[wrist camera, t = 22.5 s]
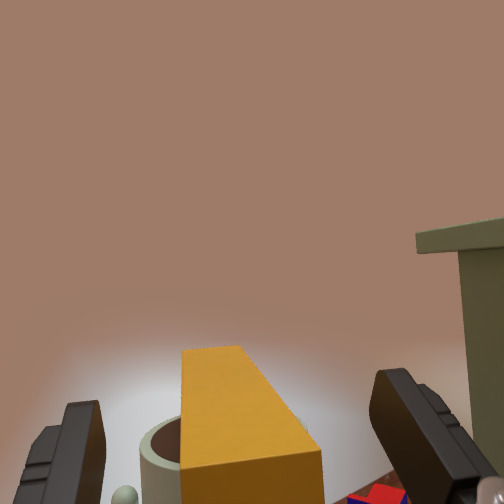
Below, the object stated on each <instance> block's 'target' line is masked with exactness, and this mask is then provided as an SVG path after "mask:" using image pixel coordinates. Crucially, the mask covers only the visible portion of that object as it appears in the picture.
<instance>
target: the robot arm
mask: <svg viewBox="0 0 504 504" xmlns="http://www.w3.org/2000/svg"><path fill="white" fill-rule="evenodd" d="M369 416H370V421H371V424H372V427H373V429H374V431H375V433H376V435H377V437H378V439H379V441H380V443H381V445H382V446H383V448H384V450H385V452H386V454H387V456H388V458H389V460H390V462H391V464H392V466H393V467H394V470H395V471H396V473H397V475H398V477H399V479H400V481H401V483H402V485H403V487H404V489H405V491H406V493H407V495H408V496H409V498H410V500H411V502H412V504H504V477H500V475H499V474H498V473H497V472H496V471H495V469H494V468H493V467H492V465H491V464H490V463H489V461H488V460H487V459H486V457H485V456H484V455H483V453H482V452H481V451H480V449H479V448H478V447H477V445H476V444H475V443H474V441H473V440H472V439H471V437H470V436H469V435H468V433H467V432H466V431H465V429H464V428H463V427H462V426H460V423H459V421H458V420H457V418H456V417H455V416H454V414H451V411H450V409H449V408H448V407H447V405H446V404H445V403H444V401H443V400H442V398H441V397H440V396H439V395H438V394H436V393H435V392H434V391H432V390H431V389H430V388H429V387H427V386H426V385H425V384H416V382H415V381H414V379H413V378H412V376H411V375H410V374H409V372H408V371H407V370H406V369H404V368H397V369H387V370H379V371H378V372H377V374H376V377H375V382H374V386H373V391H372V396H371V400H370V406H369ZM105 463H106V438H105V432H104V427H103V421H102V416H101V410H100V405H99V401H98V400H92V401H82V402H73V403H68V404H67V406H66V409H65V413H64V417H63V421H62V424H61V425H56V426H47V427H45V428H44V430H43V431H42V432H41V434H40V435H39V436H38V438H37V439H36V440H35V441H34V442H33V444H32V446H31V449H30V452H29V455H28V458H27V461H26V464H25V469H24V470H23V474H22V476H21V480H20V485H19V486H18V489H17V492H16V495H15V498H14V501H13V504H100V499H101V492H102V484H103V477H104V470H105Z"/></svg>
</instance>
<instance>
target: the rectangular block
mask: <svg viewBox="0 0 504 504" xmlns="http://www.w3.org/2000/svg"><path fill="white" fill-rule="evenodd" d="M181 388H182V389H181V433H180V483H181V501H182V504H325V499H324V486H323V470H322V457H321V449H320V448H319V446H318V445H317V444H316V443H315V441H314V440H313V439H312V437H311V436H310V435H309V434H308V432H307V431H306V430H305V428H304V427H303V426H302V425H301V423H300V422H299V421H298V419H297V418H296V417H295V416H294V414H293V413H292V412H291V410H290V409H289V408H288V407H287V405H286V404H285V403H284V402H283V401H282V399H281V398H280V397H279V395H278V394H277V393H276V391H275V390H274V389H273V388H272V386H271V385H270V384H269V382H268V381H267V380H266V378H265V377H264V376H263V375H262V373H261V372H260V371H259V370H258V368H257V367H256V366H255V364H254V363H253V362H252V361H251V359H250V358H249V357H248V356H247V354H246V353H245V352H244V350H243V349H242V348H241V347H240V345H236V346H225V347H214V348H203V349H192V350H183V351H182V385H181Z"/></svg>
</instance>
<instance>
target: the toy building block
mask: <svg viewBox="0 0 504 504" xmlns="http://www.w3.org/2000/svg"><path fill="white" fill-rule="evenodd" d="M347 503H348V504H407V493H406V491H405V490H402V489H397V488H393V487H389V486H385V485H380V484H376V483H375V484H374V486H373V487H372V489H371V490H370V492H369V493H368V495H367V496H366V498H365V497H361V496H357V495H354V494H349V495H348V497H347Z"/></svg>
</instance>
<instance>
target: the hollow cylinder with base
mask: <svg viewBox="0 0 504 504" xmlns="http://www.w3.org/2000/svg"><path fill="white" fill-rule="evenodd" d="M295 417H296V416H295ZM296 418H297V419H298V421H299V422H300V423H301V425H302V426H303V427H304V428H305V430H306V431H307V427H306V425H305V423H304V422H303V421H302V420H301V419H299V418H298V417H296ZM307 432H308V431H307ZM180 433H181V415H180V416H177V417H174V418H172V419H169V420H167V421H165V422H162V423H160V424H159V425H157V426H155V427H154V428H152V429H151V430H150V431H149V432H147V433H146V434H145V436H144V437H143V438H142V440H141V443H140V448H139V450H140V469H141V488H142V504H182V501H181V483H180ZM111 504H139V503H138V494H137V492H136V490H135V489H134V488H133V487H131V486H122V487H120V488H118V489H117V490H116V491H115V492H114V494H113V496H112V500H111Z"/></svg>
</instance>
